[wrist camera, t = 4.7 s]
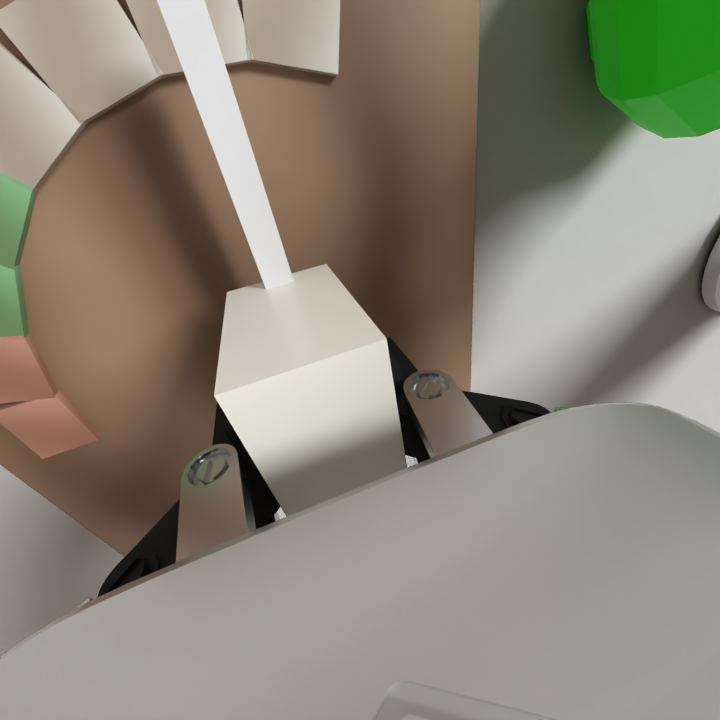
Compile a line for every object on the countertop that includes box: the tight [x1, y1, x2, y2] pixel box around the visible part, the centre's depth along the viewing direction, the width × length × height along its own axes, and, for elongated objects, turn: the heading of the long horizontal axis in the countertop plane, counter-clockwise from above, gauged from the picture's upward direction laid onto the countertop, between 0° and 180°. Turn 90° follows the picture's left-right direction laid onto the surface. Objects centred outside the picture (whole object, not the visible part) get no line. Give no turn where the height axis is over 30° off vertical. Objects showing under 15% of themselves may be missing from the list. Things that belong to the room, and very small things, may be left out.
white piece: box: [157, 0, 407, 516], centre depth 8 cm, size 3×13×7 cm, turn 11°
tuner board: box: [0, 0, 480, 557], centre depth 11 cm, size 20×26×3 cm
